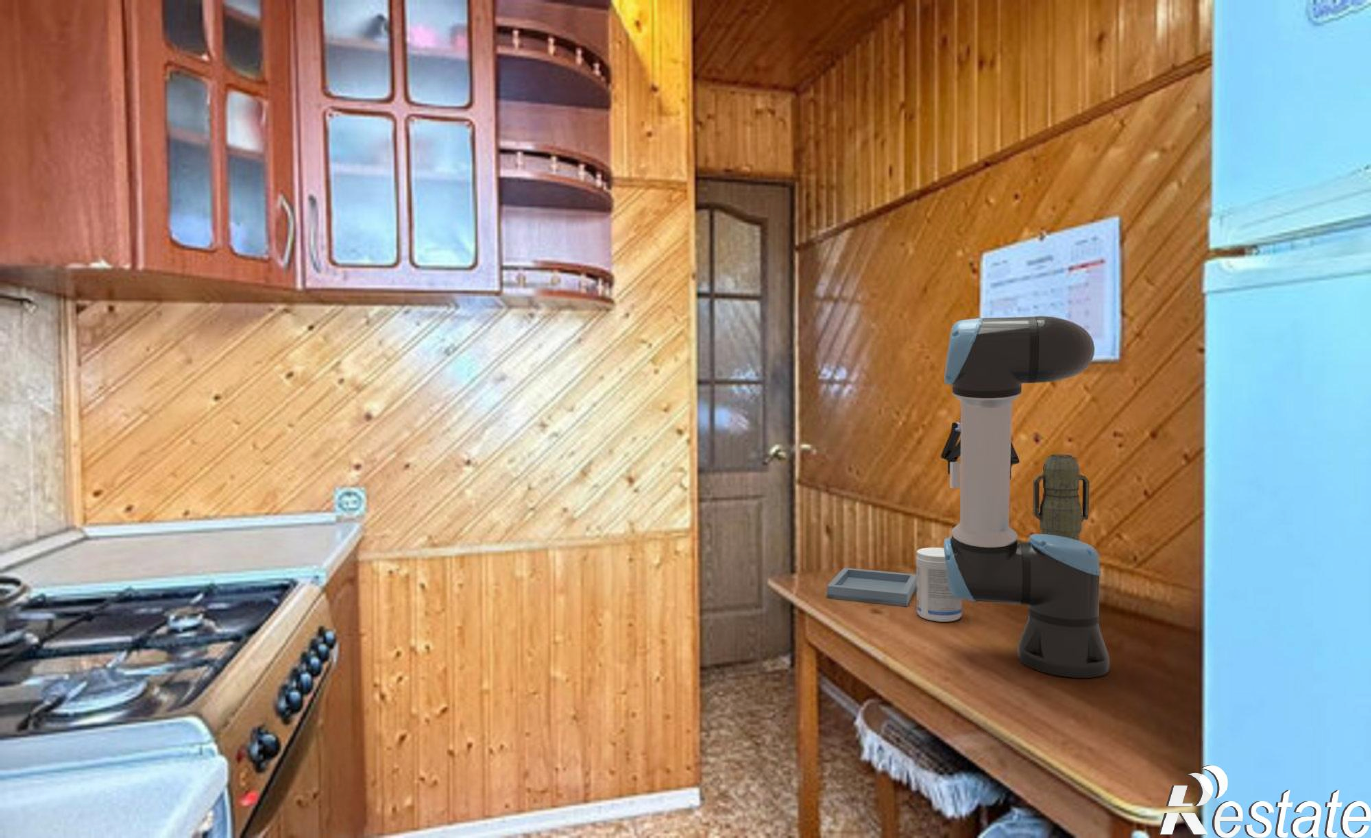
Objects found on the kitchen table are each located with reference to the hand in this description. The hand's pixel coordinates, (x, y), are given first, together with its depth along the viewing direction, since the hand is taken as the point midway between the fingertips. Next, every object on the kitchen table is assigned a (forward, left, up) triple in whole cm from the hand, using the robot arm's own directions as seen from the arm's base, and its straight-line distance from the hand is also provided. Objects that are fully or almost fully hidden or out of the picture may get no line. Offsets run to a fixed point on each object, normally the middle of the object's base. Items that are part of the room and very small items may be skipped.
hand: (978, 490), depth 179 cm
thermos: (+2, -18, -26) cm, 32 cm away
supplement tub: (-19, +7, -26) cm, 33 cm away
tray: (-5, +24, -26) cm, 36 cm away
